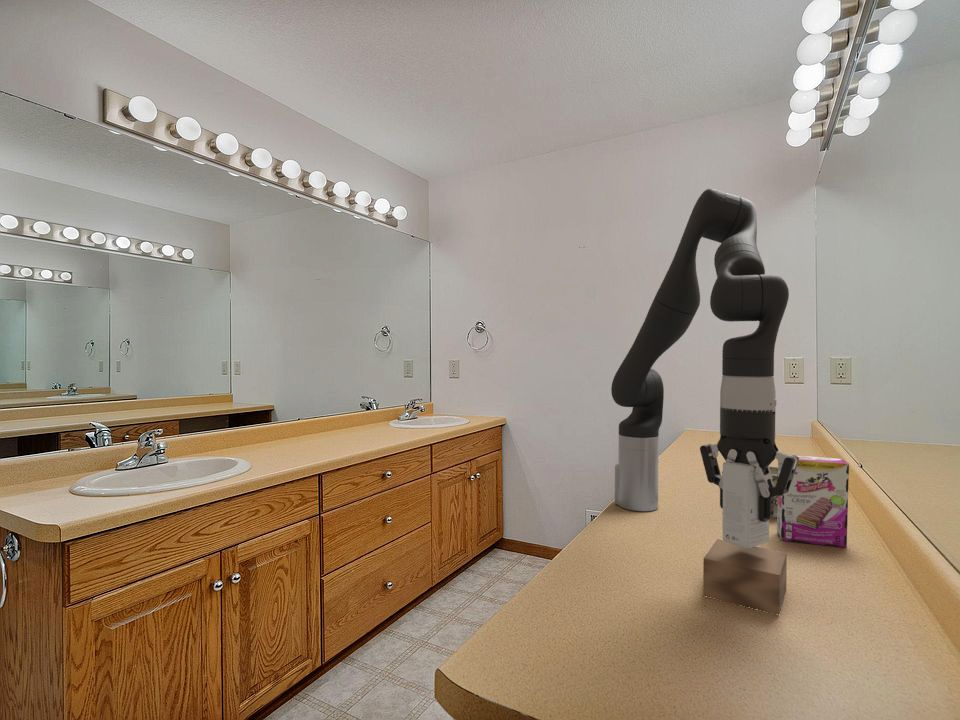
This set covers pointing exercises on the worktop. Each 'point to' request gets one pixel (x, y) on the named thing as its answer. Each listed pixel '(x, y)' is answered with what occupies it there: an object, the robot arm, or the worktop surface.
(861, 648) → the worktop surface
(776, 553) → the walnut block
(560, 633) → the worktop surface
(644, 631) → the worktop surface
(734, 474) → the skincare box
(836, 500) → the candy bar box
